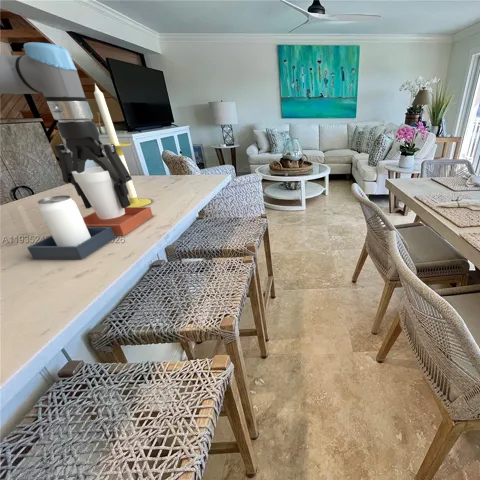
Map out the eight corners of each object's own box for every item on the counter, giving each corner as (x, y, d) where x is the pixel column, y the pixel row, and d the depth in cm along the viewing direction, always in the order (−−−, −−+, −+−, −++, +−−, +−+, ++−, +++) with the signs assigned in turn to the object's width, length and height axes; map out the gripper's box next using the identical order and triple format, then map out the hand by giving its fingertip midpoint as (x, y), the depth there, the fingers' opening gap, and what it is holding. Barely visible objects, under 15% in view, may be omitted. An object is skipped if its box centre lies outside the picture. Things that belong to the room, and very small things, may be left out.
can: (52, 250, 63) (26, 202, 58) (79, 238, 69) (59, 193, 63) (73, 253, 62) (49, 204, 57) (99, 241, 68) (79, 195, 62)
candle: (119, 210, 89) (71, 81, 72) (117, 202, 96) (74, 83, 79) (152, 204, 94) (116, 82, 77) (149, 197, 101) (115, 84, 84)
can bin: (33, 259, 61) (26, 247, 59) (73, 237, 71) (68, 227, 69) (82, 259, 61) (76, 247, 59) (115, 237, 71) (111, 226, 69)
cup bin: (71, 235, 72) (66, 225, 70) (108, 216, 84) (105, 207, 83) (123, 235, 72) (119, 225, 70) (153, 216, 84) (150, 207, 83)
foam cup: (89, 214, 77) (70, 169, 71) (126, 207, 83) (111, 164, 77) (94, 224, 71) (74, 175, 65) (134, 215, 76) (118, 169, 71)
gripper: (15, 122, 62) (58, 211, 72) (109, 121, 62) (139, 211, 72) (44, 120, 69) (80, 202, 79) (129, 120, 69) (154, 202, 79)
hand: (108, 206), depth 75 cm, fingers closed on foam cup, 9 cm apart
